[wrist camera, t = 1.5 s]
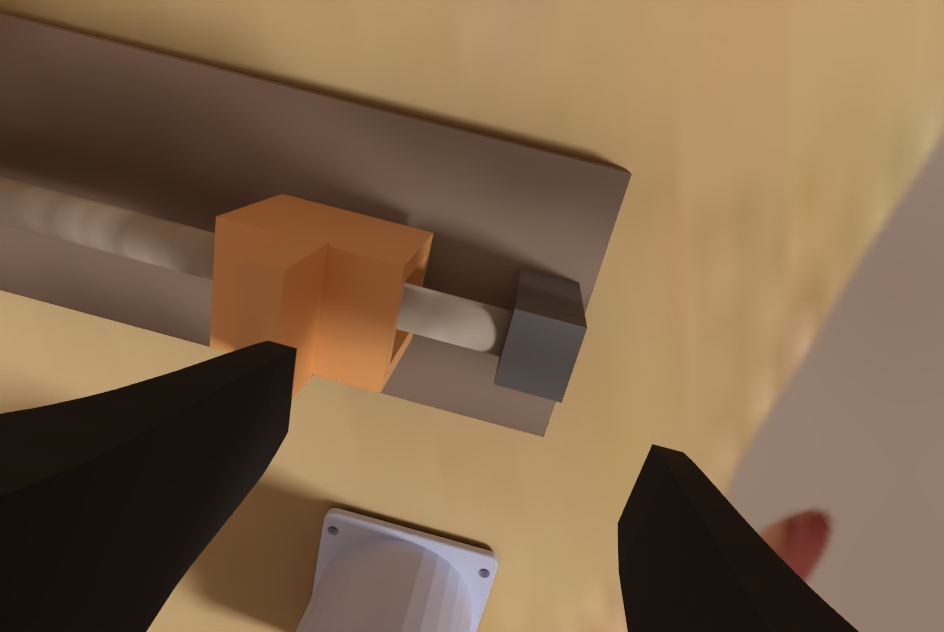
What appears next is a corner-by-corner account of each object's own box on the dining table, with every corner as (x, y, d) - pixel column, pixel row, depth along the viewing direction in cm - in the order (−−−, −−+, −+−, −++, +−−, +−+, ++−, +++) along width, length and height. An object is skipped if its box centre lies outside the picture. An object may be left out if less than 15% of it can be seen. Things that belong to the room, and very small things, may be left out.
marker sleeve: (411, 341, 19) (349, 448, 13) (272, 304, 19) (150, 393, 13) (434, 229, 17) (375, 294, 12) (282, 190, 18) (150, 234, 12)
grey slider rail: (544, 420, 22) (541, 527, 16) (-108, 244, 23) (-318, 289, 17) (626, 169, 18) (660, 198, 13) (-160, -29, 19) (-448, -82, 14)
